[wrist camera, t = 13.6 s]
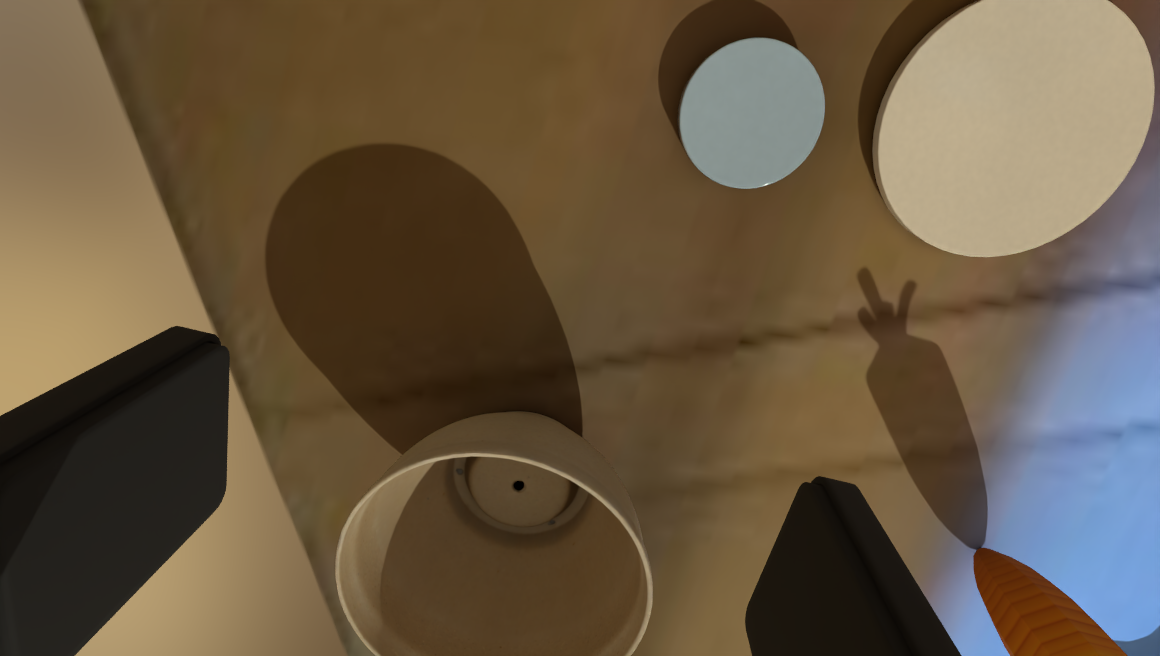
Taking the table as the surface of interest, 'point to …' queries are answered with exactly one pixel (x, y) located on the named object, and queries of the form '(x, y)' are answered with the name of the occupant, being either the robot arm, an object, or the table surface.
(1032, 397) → the table surface
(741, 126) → the blue-grey cylinder
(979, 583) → the carrot
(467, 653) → the planter bowl
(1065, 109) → the dessert plate
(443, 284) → the table surface
